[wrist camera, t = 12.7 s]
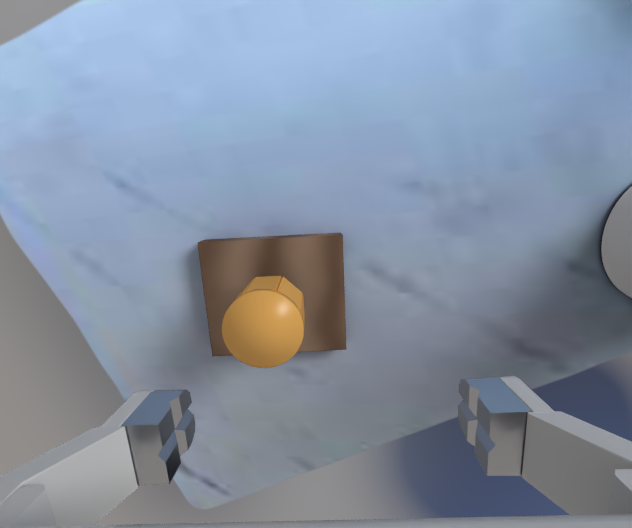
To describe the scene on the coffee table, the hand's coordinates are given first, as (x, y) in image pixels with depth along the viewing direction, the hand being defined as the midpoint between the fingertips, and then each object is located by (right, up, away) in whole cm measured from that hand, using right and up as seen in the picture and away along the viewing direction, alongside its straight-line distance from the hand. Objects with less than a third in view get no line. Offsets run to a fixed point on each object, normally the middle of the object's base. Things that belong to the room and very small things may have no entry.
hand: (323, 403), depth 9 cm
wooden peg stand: (-4, +1, +24) cm, 24 cm away
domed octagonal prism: (-4, 0, +19) cm, 20 cm away
